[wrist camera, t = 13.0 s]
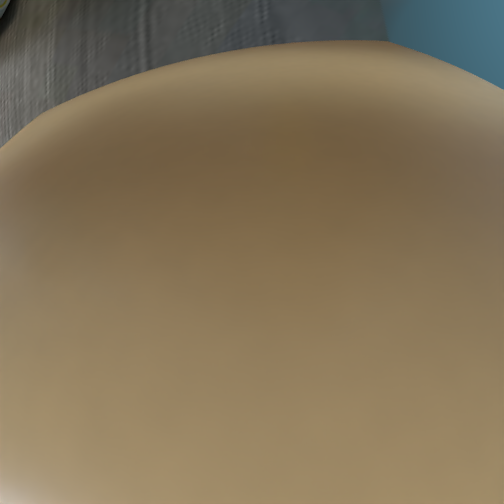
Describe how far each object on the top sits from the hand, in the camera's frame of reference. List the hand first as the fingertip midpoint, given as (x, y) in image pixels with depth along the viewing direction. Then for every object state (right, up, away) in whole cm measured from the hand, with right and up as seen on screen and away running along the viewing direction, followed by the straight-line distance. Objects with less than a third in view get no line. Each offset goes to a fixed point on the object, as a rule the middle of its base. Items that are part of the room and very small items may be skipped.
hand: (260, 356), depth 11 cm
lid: (-1, +4, -8) cm, 9 cm away
